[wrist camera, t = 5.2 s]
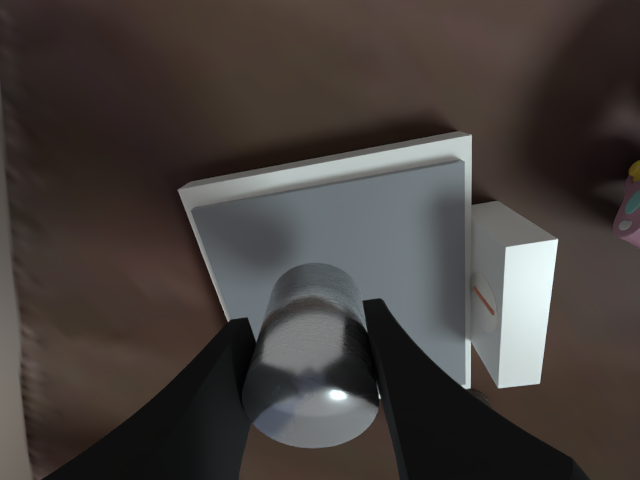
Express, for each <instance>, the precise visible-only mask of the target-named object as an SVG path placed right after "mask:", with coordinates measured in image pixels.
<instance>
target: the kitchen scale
mask: <svg viewBox="0 0 640 480" xmlns="http://www.w3.org/2000/svg"><path fill="white" fill-rule="evenodd" d="M471 174H472V135H470V134H467V133H463V132H460V131H456V132H451V133H446V134H440V135H435V136H430V137H424V138H419V139H414V140H409V141H403V142H398V143H393V144H387V145H382V146H377V147H371V148H366V149H361V150H355V151H350V152H345V153H340V154H334V155H329V156H324V157H318V158H313V159H308V160H302V161H297V162H292V163H287V164H281V165H276V166H271V167H265V168H260V169H255V170H249V171H244V172H239V173H233V174H228V175H223V176H218V177H212V178H207V179H202V180H196V181H191V182H189V183H187V184H186V185H184V186H183V187H181V188H180V189H178V192H179V195H180V197H181V200H182V203H183V205H184V208H185V211H186V213H187V216H188V218H189V221H190V224H191V226H192V229H193V232H194V234H195V237H196V239H197V242H198V245H199V247H200V250H201V253H202V255H203V258H204V261H205V263H206V266H207V268H208V271H209V274H210V276H211V279H212V282H213V284H214V287H215V289H216V292H217V295H218V297H219V300H220V303H221V305H222V308H223V311H224V313H225V316H226V318H227V321H228V322H229V321H230V320H231V319H238V318H245V317H248V320H249V323H250V325H251V328H252V331H253V334H254V337H255V340H256V342H257V339H258V335H259V332H260V329H261V325H262V322H263V319H264V315H265V312H266V309H267V305H268V302H269V298H270V295H271V292H272V289H273V287H274V285H275V283H276V281H277V280H278V279H279V278H280V277H281V276H282V275H283V274H284V273H285V272H287V271H288V270H290V269H292V268H294V267H296V266H299V265H302V264H307V263H324V264H329V265H332V266H335V267H337V268H339V269H341V270H343V271H344V272H346V273H347V274H348V275H350V276H351V277H352V278H353V279H354V281H355V282H356V283H357V285H358V287H359V289H360V291H361V295H362V300H370V299H377V298H381V299H382V300H384V302H385V304H386V306H387V307H388V309H389V310H390V312H391V313H392V315H393V316H394V318H395V319H396V320H397V322H398V323H399V324H400V325H401V327H402V328H403V329H404V330H405V331H406V333H407V334H408V335H409V336H410V337H411V339H412V340H413V341H414V342H415V343H416V344H417V345H418V346H419V347H420V348H421V349H422V350H423V351H424V353H425V354H426V355H427V356H428V357H429V358H430V359H431V360H432V361H434V362H435V363H436V364H437V365H438V366H439V367H440V368H441V369H442V370H443V371H444V372H446V373H447V374H448V375H449V376H450V377H451V378H452V379H454V380H455V381H456V382H457V383H458V384H460V385H461V386H462V387H463V388H465V389H469V388H471V342H472V344H473V346H474V347H475V349H476V351H477V353H478V354H479V356H480V358H481V360H482V361H483V363H484V365H485V366H486V368H487V370H488V372H489V373H490V375H491V377H492V378H493V380H494V382H495V384H496V385H497V387H498V388H505V387H514V386H522V385H531V384H540V378H541V370H542V362H543V354H544V346H545V339H546V331H547V323H548V315H549V307H550V299H551V291H552V283H553V275H554V267H555V259H556V251H557V243H558V239H557V238H555V237H554V236H552V235H551V234H549V233H548V232H546V231H544V230H543V229H541V228H540V227H538V226H536V225H535V224H533V223H532V222H530V221H529V220H527V219H525V218H524V217H522V216H521V215H519V214H518V213H516V212H514V211H513V210H511V209H510V208H508V207H506V206H505V205H503V204H502V203H500V202H499V201H493V202H487V203H481V204H475V205H471ZM377 388H378V386H377ZM378 394H379V390H378ZM379 399H381V397H380V394H379Z"/></svg>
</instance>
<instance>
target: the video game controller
mask: <svg viewBox="0 0 640 480" xmlns="http://www.w3.org/2000/svg"><path fill="white" fill-rule="evenodd" d="M624 187H625V196H624V199H623V202H622V204H621V206H620V208H619V210H618V213H617V215H616V217H615V220H614V223H613V233H614V235H615V236H616V237H618V238H621V239H623V240H626V241H628V242H630V243H631V244H632V245H634V246H635V247H637V248H638V249H640V160H639V161H637V162H635V163H634V164H632V166H631V167H630V169H629V175H628V177H627V179H626V182H625V185H624Z"/></svg>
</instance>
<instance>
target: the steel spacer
mask: <svg viewBox="0 0 640 480" xmlns="http://www.w3.org/2000/svg"><path fill="white" fill-rule="evenodd" d="M362 301H363V300H362V295H361V291H360V289H359V287H358V285H357V283H356V282H355V281H354V279H353V278H352V277H351V276H350V275H348V274H347V273H346V272H344V271H343V270H341V269H339V268H337V267H335V266H332V265H329V264H324V263H307V264H302V265H299V266H296V267H294V268H292V269H290V270H288V271H287V272H285V273H284V274H283V275H282V276H281V277H280V278H279V279H278V280H277V281H276V283H275V285H274V287H273V289H272V292H271V295H270V298H269V302H268V305H267V309H266V312H265V315H264V319H263V322H262V325H261V329H260V332H259V335H258V339H257V342H256V345H255V349H254V352H253V356H252V359H251V362H250V366H249V369H248V372H247V376H246V379H245V382H244V386H243V390H242V403H243V407H244V410H245V413H246V415H247V416H248V418H249V419H250V421H251V422H252V423H253V425H254V426H255V427H256V428H257V429H259V430H260V431H261V432H262V433H264V434H265V435H267V436H268V437H270V438H272V439H274V440H276V441H279V442H281V443H284V444H287V445H291V446H296V447H302V448H325V447H331V446H335V445H339V444H342V443H345V442H347V441H349V440H351V439H353V438H355V437H357V436H358V435H360V434H361V433H362V432H364V431H365V430H366V429H367V428H368V427H369V426H370V424H371V423H372V422H373V420H374V418H375V416H376V414H377V411H378V407H379V394H378V388H377V382H376V376H375V370H374V364H373V360H372V356H371V351H370V345H369V339H368V333H367V327H366V320H365V314H364V308H363V302H362Z"/></svg>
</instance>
